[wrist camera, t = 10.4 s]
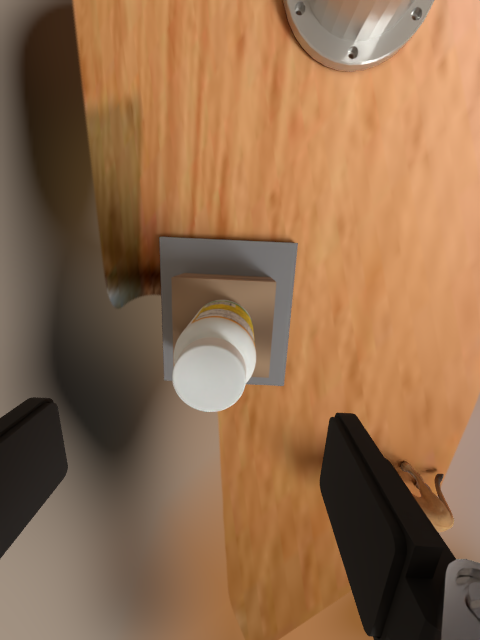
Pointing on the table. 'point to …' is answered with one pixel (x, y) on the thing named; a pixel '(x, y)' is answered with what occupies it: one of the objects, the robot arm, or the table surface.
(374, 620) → the robot arm
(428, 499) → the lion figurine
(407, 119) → the table surface
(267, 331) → the walnut block
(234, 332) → the supplement bottle
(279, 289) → the base plate
